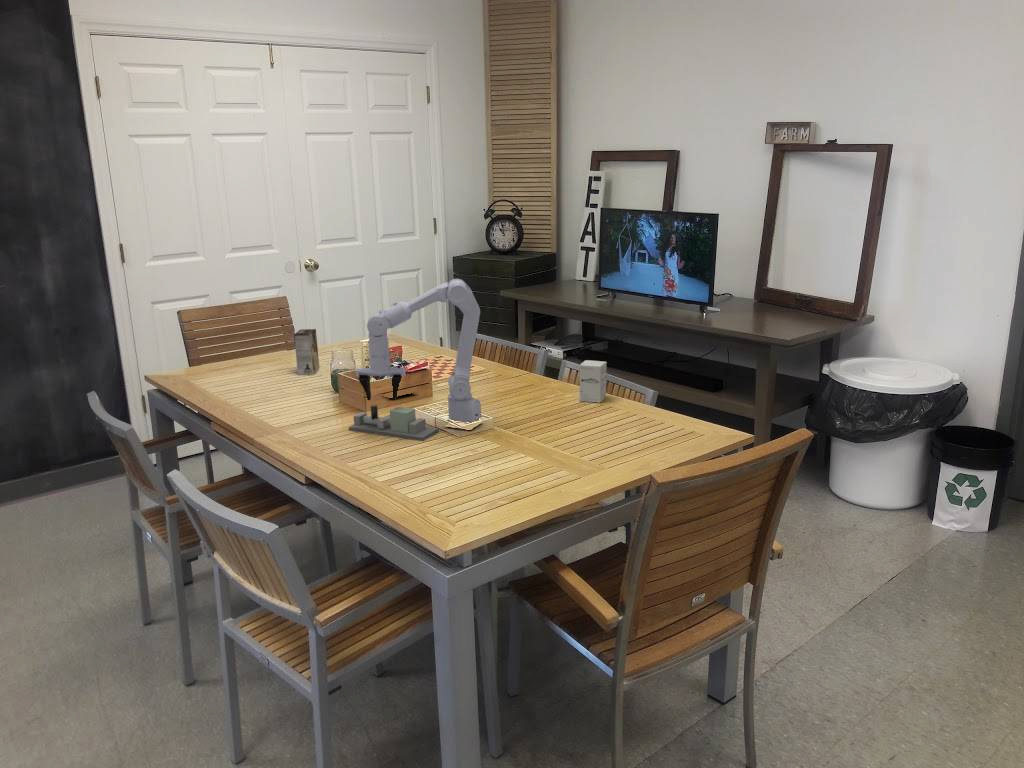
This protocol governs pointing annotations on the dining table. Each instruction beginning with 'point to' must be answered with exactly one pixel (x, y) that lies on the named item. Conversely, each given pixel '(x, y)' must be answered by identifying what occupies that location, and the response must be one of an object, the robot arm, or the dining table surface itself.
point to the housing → (401, 418)
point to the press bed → (415, 431)
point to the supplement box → (592, 381)
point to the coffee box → (306, 351)
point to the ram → (376, 418)
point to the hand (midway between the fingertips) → (382, 399)
